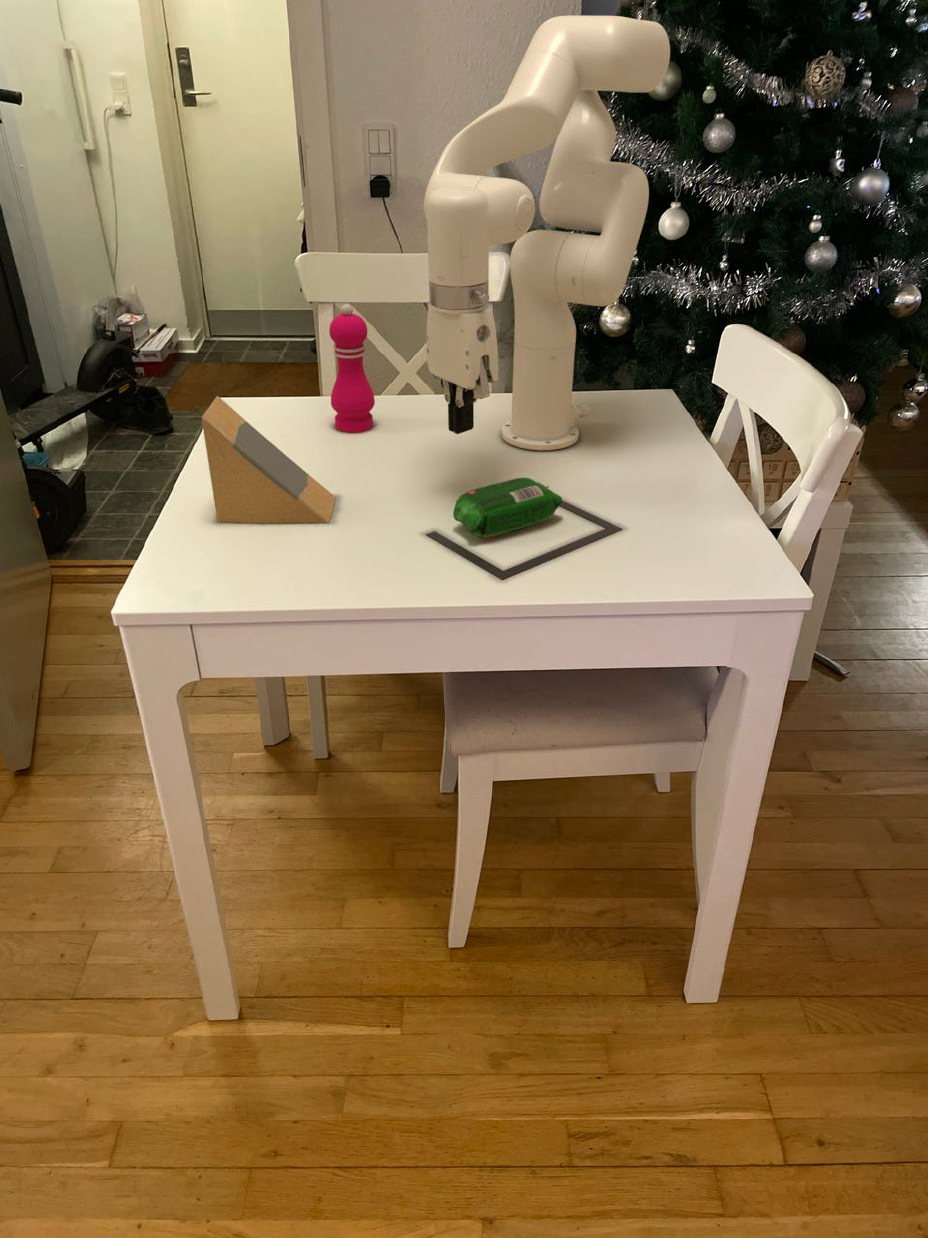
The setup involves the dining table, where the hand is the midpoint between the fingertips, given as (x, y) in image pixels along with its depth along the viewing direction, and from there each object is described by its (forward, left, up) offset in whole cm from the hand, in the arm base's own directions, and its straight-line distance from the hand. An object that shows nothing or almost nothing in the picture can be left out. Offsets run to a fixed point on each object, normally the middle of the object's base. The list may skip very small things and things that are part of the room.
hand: (461, 429), depth 130 cm
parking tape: (+1, +14, -10) cm, 17 cm away
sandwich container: (+23, -12, -10) cm, 28 cm away
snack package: (+1, +11, -10) cm, 15 cm away
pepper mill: (-3, -32, -10) cm, 34 cm away
